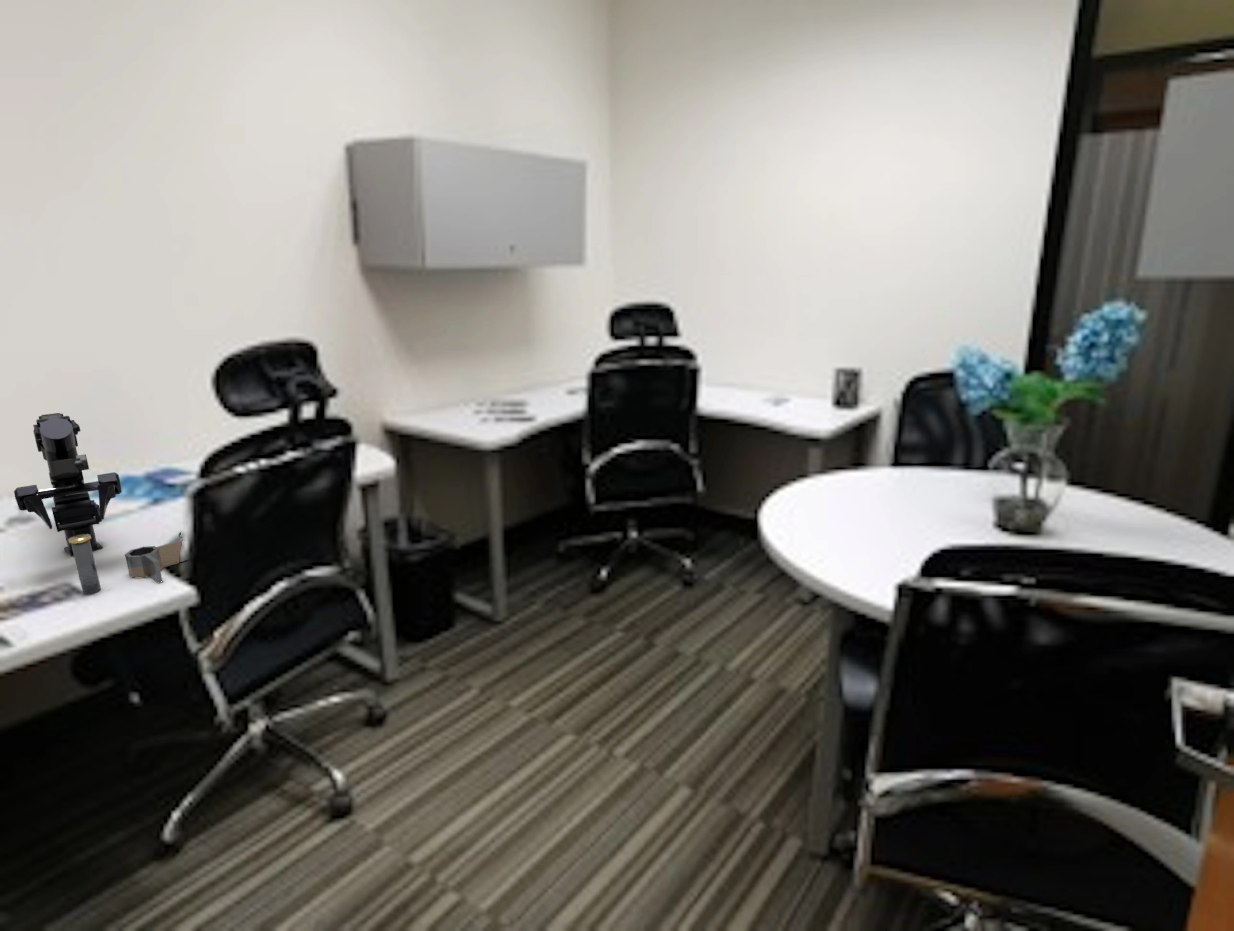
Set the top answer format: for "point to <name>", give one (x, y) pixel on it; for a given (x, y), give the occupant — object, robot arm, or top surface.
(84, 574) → the hinge pin
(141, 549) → the bronze hinge
